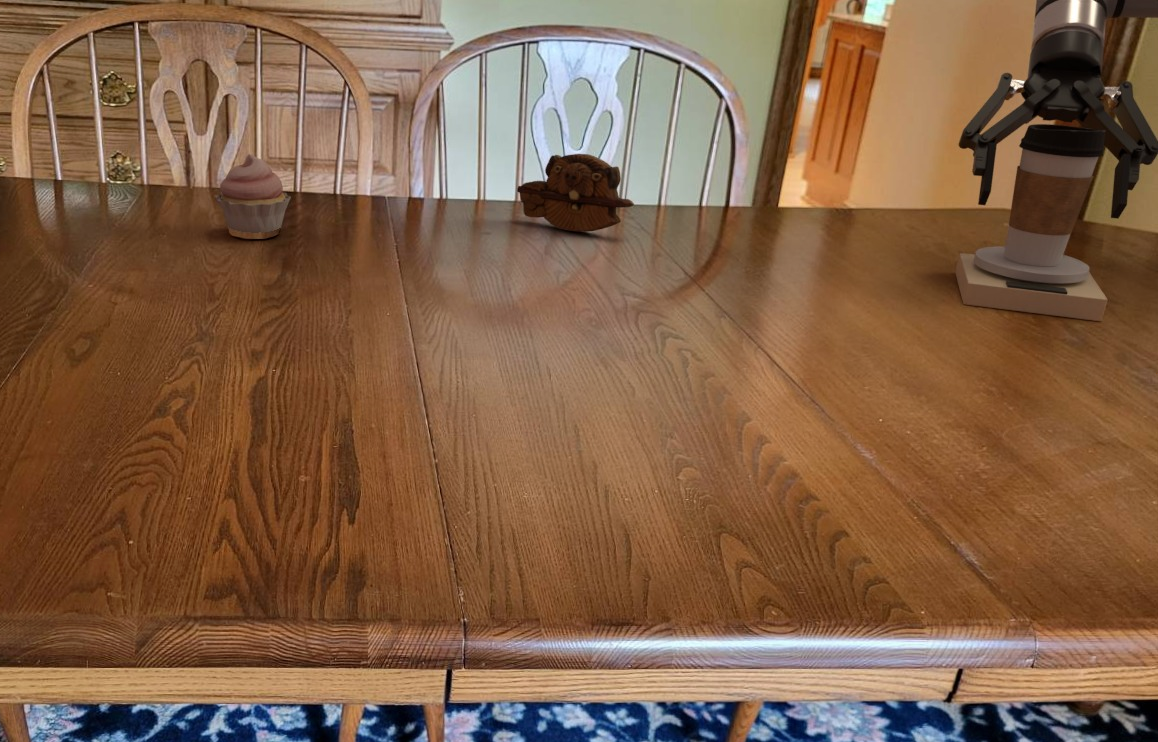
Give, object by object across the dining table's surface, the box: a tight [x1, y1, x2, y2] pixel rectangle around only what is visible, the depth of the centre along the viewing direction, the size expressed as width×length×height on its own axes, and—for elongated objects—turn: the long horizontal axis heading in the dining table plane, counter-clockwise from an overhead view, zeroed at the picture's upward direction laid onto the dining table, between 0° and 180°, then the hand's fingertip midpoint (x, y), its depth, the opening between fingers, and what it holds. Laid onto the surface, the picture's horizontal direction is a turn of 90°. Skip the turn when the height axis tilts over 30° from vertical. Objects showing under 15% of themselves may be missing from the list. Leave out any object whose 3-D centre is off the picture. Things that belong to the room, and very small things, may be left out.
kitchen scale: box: [954, 245, 1109, 322], centre depth 126 cm, size 14×14×4 cm
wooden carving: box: [516, 153, 635, 233], centre depth 145 cm, size 16×5×10 cm, turn 60°
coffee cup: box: [1004, 123, 1106, 267], centre depth 123 cm, size 8×8×15 cm
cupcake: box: [214, 153, 291, 233], centre depth 137 cm, size 9×9×10 cm
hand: (1050, 205), depth 122 cm, fingers open, 13 cm apart
